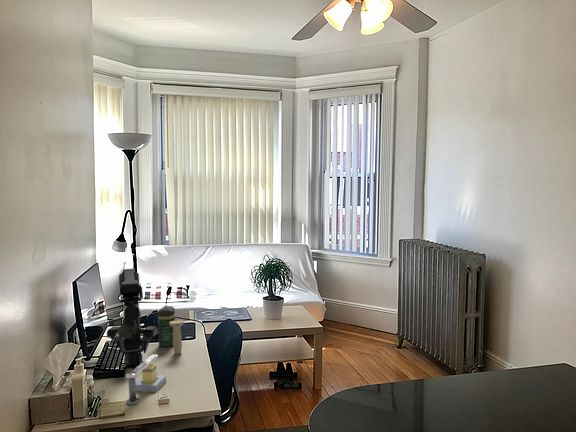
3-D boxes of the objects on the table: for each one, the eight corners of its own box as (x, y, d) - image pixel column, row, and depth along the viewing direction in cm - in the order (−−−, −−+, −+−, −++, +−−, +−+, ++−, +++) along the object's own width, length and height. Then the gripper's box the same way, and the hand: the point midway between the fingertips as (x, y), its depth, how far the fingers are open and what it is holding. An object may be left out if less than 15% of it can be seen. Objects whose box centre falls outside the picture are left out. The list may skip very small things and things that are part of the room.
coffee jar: (174, 347, 237) (172, 309, 235) (157, 348, 236) (155, 310, 235) (177, 340, 246) (176, 304, 245) (161, 341, 246) (160, 305, 244)
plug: (142, 388, 190) (141, 368, 190) (147, 383, 194) (146, 364, 194) (152, 388, 189) (151, 368, 189) (157, 384, 193) (156, 364, 193)
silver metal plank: (134, 379, 175) (134, 376, 175) (123, 378, 176) (123, 376, 176) (160, 357, 197) (159, 354, 197) (150, 356, 197) (150, 354, 197)
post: (123, 404, 176) (121, 379, 175) (129, 398, 181) (128, 374, 180) (136, 405, 175) (135, 380, 174) (142, 399, 180) (141, 374, 179)
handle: (185, 354, 227) (184, 322, 225) (171, 356, 224) (170, 324, 223) (184, 350, 231) (182, 319, 230) (170, 352, 229) (168, 321, 228)
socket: (133, 390, 188) (132, 384, 188) (144, 380, 197) (143, 374, 197) (156, 391, 186) (155, 385, 186) (166, 381, 196) (165, 375, 195)
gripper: (99, 319, 185) (101, 360, 186) (146, 319, 183) (148, 360, 184) (112, 312, 196) (114, 350, 197) (157, 311, 194) (159, 350, 195)
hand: (133, 352), depth 193 cm, fingers open, 9 cm apart
